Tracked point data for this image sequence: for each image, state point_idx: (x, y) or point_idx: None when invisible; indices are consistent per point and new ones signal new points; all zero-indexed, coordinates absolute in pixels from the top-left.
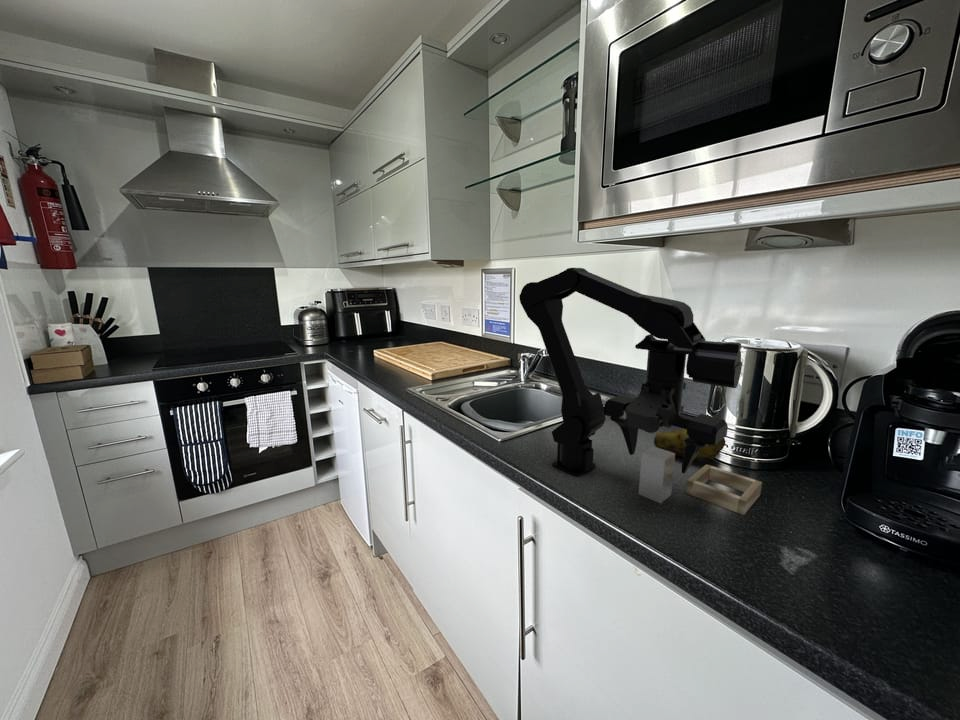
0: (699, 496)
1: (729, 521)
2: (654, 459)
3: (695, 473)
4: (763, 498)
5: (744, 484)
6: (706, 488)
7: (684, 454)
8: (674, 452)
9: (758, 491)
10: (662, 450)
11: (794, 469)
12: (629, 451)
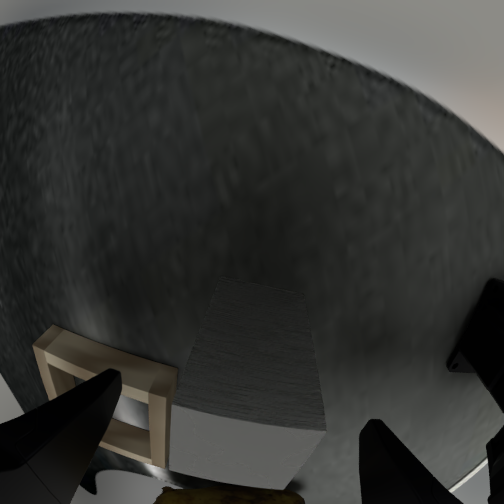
0: (140, 361)
1: (59, 282)
2: (241, 407)
3: (164, 433)
4: None
5: None
6: None
7: (54, 433)
8: (253, 490)
9: None
10: (228, 477)
11: (88, 473)
12: (385, 429)
